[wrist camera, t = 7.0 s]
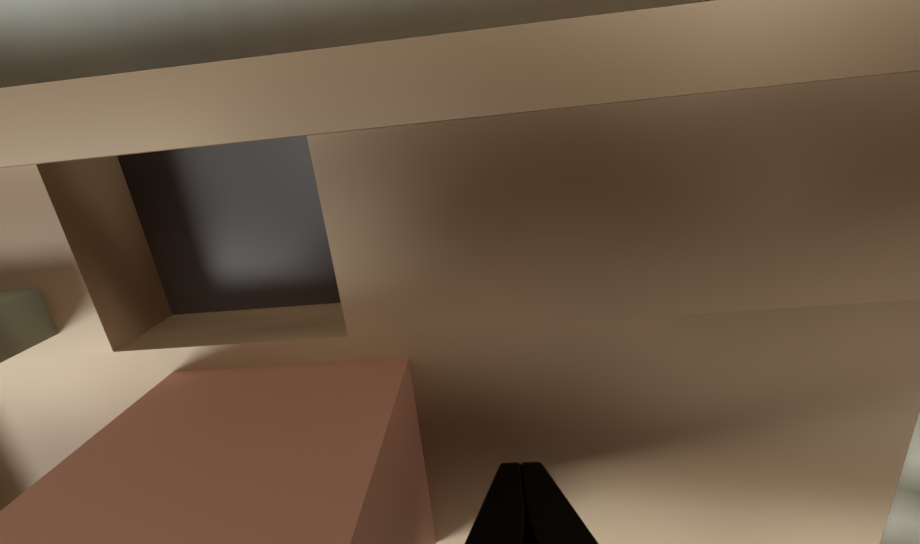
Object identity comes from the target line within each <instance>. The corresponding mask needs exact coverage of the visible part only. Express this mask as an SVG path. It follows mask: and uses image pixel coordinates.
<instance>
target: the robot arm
mask: <svg viewBox="0 0 920 544" xmlns="http://www.w3.org/2000/svg"><path fill="white" fill-rule="evenodd" d="M465 544H599V543H598V542H597V541H596V539H595V538H594V536H593V535H592V534H591V532H590V531H589V529H588V528H587V526H586V525H585V524H584V522H583V521H582V519H581V518H580V516H579V515H578V514H577V512H576V511H575V509H574V508H573V507H572V505H571V504H570V502H569V501H568V499H567V498H566V497H565V495H564V494H563V492H562V491H561V490H560V488H559V487H558V485H557V484H556V482H555V481H554V480H553V478H552V477H551V475H550V474H549V472H548V471H547V470H546V468H545V467H544V465H543V464H542V463H541V462H538V461H537V462H522V463H521V464H520V463H518V462H508V463H501V464H500V465H499V467H498V470H497V472H496V474H495V476H494V479H493V481H492V483H491V485H490V488H489V490H488V492H487V494H486V497H485V499H484V501H483V503H482V506H481V508H480V510H479V512H478V515H477V517H476V519H475V521H474V524H473V526H472V528H471V530H470V533H469V535H468V537H467V539H466V542H465Z"/></svg>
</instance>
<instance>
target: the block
mask: <svg viewBox="0 0 920 544" xmlns="http://www.w3.org/2000/svg"><path fill="white" fill-rule="evenodd" d="M0 544H436V536H435V529H434V523H433V516H432V509H431V503H430V496H429V490H428V483H427V476H426V470H425V463H424V456H423V450H422V443H421V437H420V430H419V423H418V417H417V410H416V404H415V397H414V390H413V384H412V377H411V371H410V364H409V358H408V359H390V360H372V361H354V362H336V363H319V364H301V365H283V366H265V367H247V368H229V369H211V370H193V371H175V372H172V373H171V374H169V375H168V376H167V377H166V378H165V379H163V380H162V381H161V382H160V383H158V384H157V385H156V386H155V387H153V388H152V389H151V390H150V391H148V392H147V393H146V394H145V395H143V396H142V397H141V398H140V399H139V400H137V401H136V402H135V403H134V404H132V405H131V406H130V407H129V408H127V409H126V410H125V411H124V412H122V413H121V414H120V415H119V416H117V417H116V418H115V419H114V420H112V421H111V422H110V423H109V424H108V425H106V426H105V427H104V428H103V429H101V430H100V431H99V432H98V433H96V434H95V435H94V436H93V437H91V438H90V439H89V440H88V441H86V442H85V443H84V444H83V445H82V446H80V447H79V448H78V449H77V450H75V451H74V452H73V453H72V454H70V455H69V456H68V457H67V458H65V459H64V460H63V461H62V462H60V463H59V464H58V465H57V466H55V467H54V468H53V469H52V470H51V471H49V472H48V473H47V474H46V475H44V476H43V477H42V478H41V479H39V480H38V481H37V482H36V483H34V484H33V485H32V486H31V487H29V488H28V489H27V490H26V491H25V492H23V493H22V494H21V495H20V496H18V497H17V498H16V499H15V500H13V501H12V502H11V503H10V504H8V505H7V506H6V507H5V508H3V509H2V510H1V511H0Z"/></svg>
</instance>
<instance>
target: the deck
mask: <svg viewBox="0 0 920 544" xmlns="http://www.w3.org/2000/svg"><path fill="white" fill-rule="evenodd" d="M408 358H409V364H410V371H411V377H412V384H413V390H414V397H415V404H416V410H417V417H418V423H419V430H420V437H421V443H422V450H423V456H424V463H425V470H426V476H427V483H428V490H429V496H430V503H431V509H432V516H433V523H434V529H435V536H436V544H465V542H466V539H467V537H468V535H469V533H470V530H471V528H472V526H473V524H474V521H475V519H476V517H477V515H478V512H479V510H480V508H481V506H482V503H483V501H484V499H485V497H486V494H487V492H488V490H489V488H490V485H491V483H492V481H493V479H494V476H495V474H496V472H497V470H498V467H499V465H500V464H501V463H508V462H518V463H520V464H521V463H522V462H537V461H538V462H541V463H542V464H543V465H544V467H545V468H546V470H547V471H548V472H549V474H550V475H551V477H552V478H553V480H554V481H555V482H556V484H557V485H558V487H559V488H560V490H561V491H562V492H563V494H564V495H565V497H566V498H567V499H568V501H569V502H570V504H571V505H572V507H573V508H574V509H575V511H576V512H577V514H578V515H579V516H580V518H581V519H582V521H583V522H584V524H585V525H586V526H587V528H588V529H589V531H590V532H591V534H592V535H593V536H594V538H595V539H596V541H597V542H598V543H599V544H880V541H881V537H882V534H883V531H884V527H885V524H886V521H887V518H888V514H889V511H890V508H891V504H892V501H893V498H894V494H895V491H896V488H897V484H898V481H899V478H900V474H901V471H902V468H903V464H904V461H905V458H906V454H907V451H908V448H909V444H910V441H911V438H912V434H913V431H914V428H915V424H916V421H917V418H918V414H919V411H920V0H714V1H706V2H698V3H690V4H682V5H674V6H665V7H657V8H649V9H641V10H633V11H625V12H616V13H608V14H600V15H592V16H584V17H576V18H567V19H559V20H551V21H543V22H535V23H526V24H518V25H510V26H502V27H494V28H486V29H477V30H469V31H461V32H453V33H445V34H437V35H428V36H420V37H412V38H404V39H396V40H388V41H379V42H371V43H363V44H355V45H347V46H339V47H330V48H322V49H314V50H306V51H298V52H289V53H281V54H273V55H265V56H257V57H249V58H240V59H232V60H224V61H216V62H208V63H200V64H191V65H183V66H175V67H167V68H159V69H151V70H142V71H134V72H126V73H118V74H110V75H102V76H93V77H85V78H77V79H69V80H61V81H53V82H44V83H36V84H28V85H20V86H12V87H3V88H0V511H1V510H2V509H3V508H5V507H6V506H7V505H8V504H10V503H11V502H12V501H13V500H15V499H16V498H17V497H18V496H20V495H21V494H22V493H23V492H25V491H26V490H27V489H28V488H29V487H31V486H32V485H33V484H34V483H36V482H37V481H38V480H39V479H41V478H42V477H43V476H44V475H46V474H47V473H48V472H49V471H51V470H52V469H53V468H54V467H55V466H57V465H58V464H59V463H60V462H62V461H63V460H64V459H65V458H67V457H68V456H69V455H70V454H72V453H73V452H74V451H75V450H77V449H78V448H79V447H80V446H82V445H83V444H84V443H85V442H86V441H88V440H89V439H90V438H91V437H93V436H94V435H95V434H96V433H98V432H99V431H100V430H101V429H103V428H104V427H105V426H106V425H108V424H109V423H110V422H111V421H112V420H114V419H115V418H116V417H117V416H119V415H120V414H121V413H122V412H124V411H125V410H126V409H127V408H129V407H130V406H131V405H132V404H134V403H135V402H136V401H137V400H139V399H140V398H141V397H142V396H143V395H145V394H146V393H147V392H148V391H150V390H151V389H152V388H153V387H155V386H156V385H157V384H158V383H160V382H161V381H162V380H163V379H165V378H166V377H167V376H168V375H169V374H171V373H172V372H175V371H193V370H211V369H229V368H247V367H265V366H283V365H301V364H319V363H336V362H354V361H372V360H390V359H408Z"/></svg>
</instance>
